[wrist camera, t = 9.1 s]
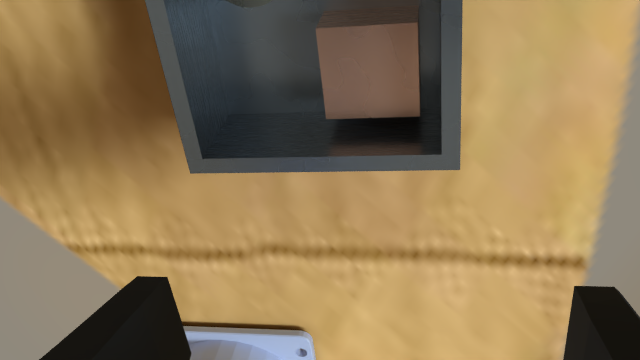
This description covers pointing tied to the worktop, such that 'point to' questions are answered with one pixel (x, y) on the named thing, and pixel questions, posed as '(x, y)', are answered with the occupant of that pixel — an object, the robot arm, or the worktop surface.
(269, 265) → the worktop surface
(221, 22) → the tin
